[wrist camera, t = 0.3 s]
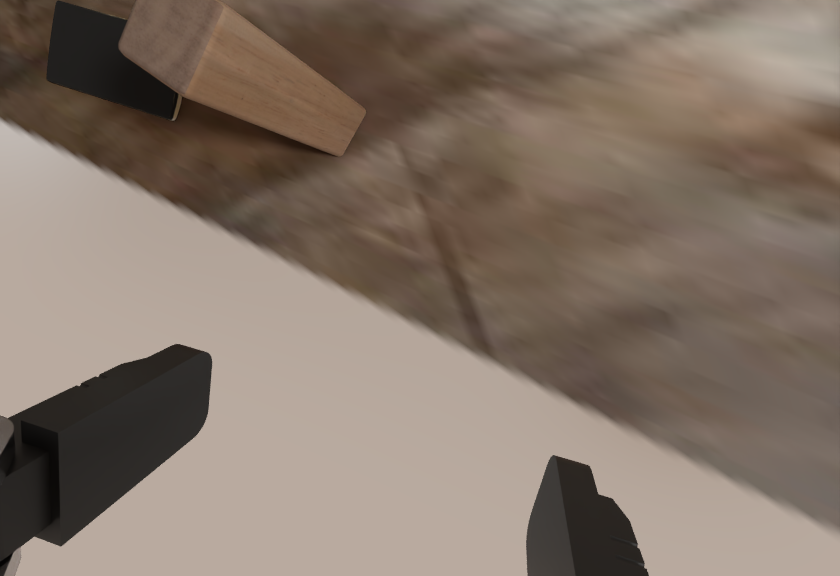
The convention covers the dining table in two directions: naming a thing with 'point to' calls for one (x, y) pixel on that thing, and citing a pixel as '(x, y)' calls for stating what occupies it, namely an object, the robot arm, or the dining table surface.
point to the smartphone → (103, 62)
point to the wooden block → (238, 71)
